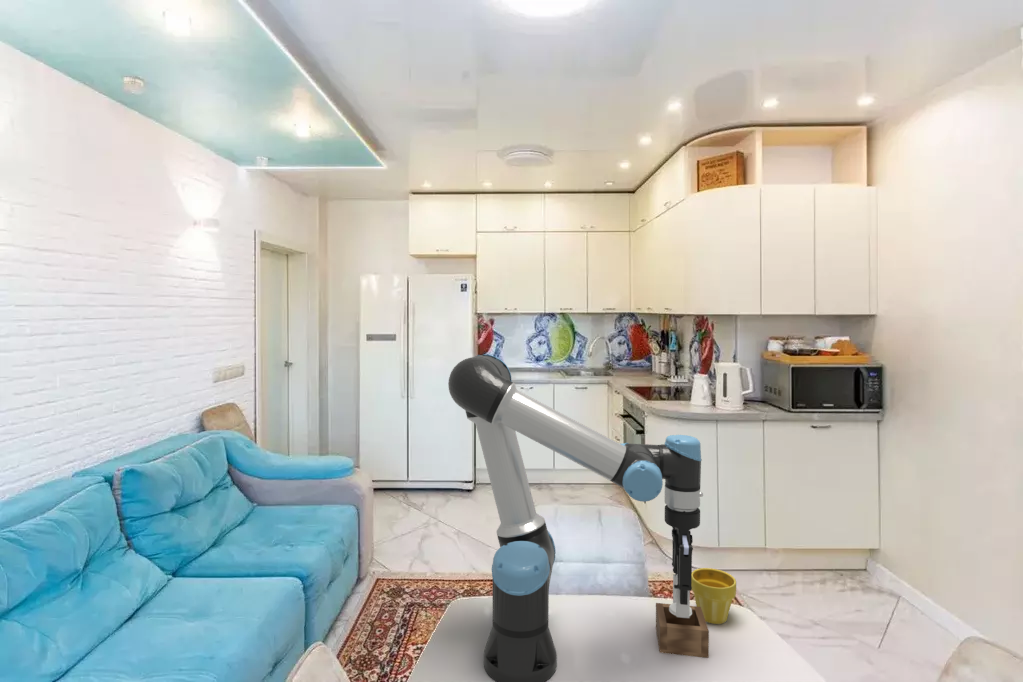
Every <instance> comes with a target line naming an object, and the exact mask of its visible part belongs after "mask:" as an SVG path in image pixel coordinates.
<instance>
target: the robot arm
mask: <svg viewBox="0 0 1023 682" xmlns="http://www.w3.org/2000/svg"><path fill="white" fill-rule="evenodd" d="M448 391H449V394H450V396H451V398H452V400H453V401H454V402H455V404H456V405H458V407H460V408H461V409H463V410H464V411H465V414H466V418H467V420H469V421H471V422H472V423H474V425H475V427H476V431H477V435H478V438H479V439H478V440H479V442H480V447H481V450H482V455H483V458H484V463H485V465H486V470H487V474H488V478H489V482H490V485H491V490H492V494H493V497H494V498H493V499H494V503H495V505H496V509H497V513H498V517H499V522H500V524H499V525H498V528H497V529H496V536H497V541H498V543H499V544H498V545H499V548H498V549H497V550H496V551H495V552H494V555H493V558H492V564H491V576H492V626H491V629H490V633H489V635H488V639H487V642H486V645H485V648H484V653H483V667H484V670H485V672H486V673H487V675H488V677H490V678H491V679H492V680H494V681H496V682H546V681H547V680H549V679H550V678H551V677H553V676H554V674H555V673H556V670H557V665H558V663H557V661H558V660H557V659H558V655H557V654H558V653H557V650H556V646H555V643H554V639H553V636H552V634H551V631H550V628H549V608H550V607H549V604H550V603H549V601H550V599H549V594H550V591H549V590H550V583H551V578H552V573H553V566H554V564H555V562H556V561H555V560H556V545H555V541H554V539H553V536H552V534H551V533H550V531H549V530H548V528H547V527H548V526H547V524H546V523H547V522H546V520H545V518H544V517H543V516H541V515H540V514H538V513H537V510H536V507H535V502H534V498H533V495H532V490H531V488H530V483H529V480H528V476H527V471H526V468H525V463H524V459H523V456H522V451H521V448H520V445H519V441H518V437H517V434H516V432H517V433H520V434H521V435H523V436H525V437H527V438H529V439H530V440H532V441H535V443H538V444H540V445H541V446H544V447H545V448H547V449H550V450H551V451H553V452H555V453H556V454H559V455H561V456H563V457H565V458H566V459H568V460H570V461H572V462H574V463H576V464H578V465H580V466H581V467H583V468H585V469H587V470H589V471H591V472H593V473H594V474H597V475H598V476H600V477H602V478H604V479H605V480H608V481H610V482H612V483H613V484H614V485H617V486H618V487H621V488H622V489H623V490H624V491H625V492H626V493H627V494H628V495H629V497H630V498H632V499H633V500H635V501H638V502H643V503H644V502H645V503H646V502H650V501H652V500H655V499H656V498H657V497H658V496H659V495H660V493H661V492H662V489H663V485H664V504H665V506H664V522H665V523H666V524H667V525H668V526H670V527H671V528H672V529H671V538H672V542H671V543H672V558H671V559H672V561H671V566H672V572H673V574H672V575H673V576H672V603H675V602H676V617H681V618H689V613H690V606H691V605H690V604H691V601H690V600H691V599H690V597H691V595H690V594H691V591H692V586H691V585H692V572H693V567H692V566H693V565H692V564H693V550H694V547H693V545H692V544H693V534H692V533H691V530H692V529H697V528H698V527H700V525H701V509H700V507H701V497H703V496H704V493H703V492H702V491H701V476H702V475H701V474H702V471H701V470H702V461H703V460H702V452H701V449H702V448H701V441H700V440H699V439H698V438H697V437H695V436H691V435H685V434H670V435H668V436H666V438H665V442H664V444H648V443H647V444H646V443H629V442H625V443H619V442H617V441H615V440H613V439H611V438H609V437H607V436H605V435H603V434H602V433H600V432H598V431H597V430H595V429H592V428H591V427H588V426H586V425H585V424H582V423H580V422H579V421H577V420H575V419H573V418H571V417H570V416H568V415H566V414H564V413H561V412H560V411H558V410H556V409H553V408H552V407H550V406H548V405H546V404H544V403H543V402H541V401H538V400H537V399H534V398H532V397H531V396H529V395H527V394H525V393H523V392H522V391H520V390H518V389H517V387H516V384H515V382H513V380H512V374H511V370H510V369H509V366H508V365H507V364H506V363H505V362H504V361H503V360H502V359H500V358H499V357H497V356H494V355H492V354H485V353H484V354H477V355H475V356H472V357H468V358H465V359H463V360H461V361H459V362H458V363H456V365H455V366H454V367H453V368H452V370H451V372H450V374H449V377H448ZM663 480H664V481H665V482H663ZM663 483H664V484H663ZM676 575H677V577H676ZM677 578H678V580H677ZM676 584H677V585H676Z"/></svg>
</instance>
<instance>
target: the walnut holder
mask: <svg viewBox="0 0 1023 682" xmlns="http://www.w3.org/2000/svg"><path fill="white" fill-rule="evenodd" d="M670 604H671V603H663V602H661V603H660V602H656V603H655V631H656V637H657V644H658V649H659V650H658V651H659V653H660V654H668V655H674V656H675V655H676V656H677V655H678V656H686V657H696V658H704V659H709V656H710V655H709V654H710V653H709V651H710V650H709V647H710V646H709V645H710V643H709V642H710V639H709V638H710V630H709V627H708V624H707V622H706V621H705V618H704V615H703V612H702V609H701V607H697V606H696V605H690V607H691V609H692V615H691V616H689V618H681V617H676V616H675V615H673V614H672V613H671V612H670V611H669V606H670Z"/></svg>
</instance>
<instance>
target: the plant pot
mask: <svg viewBox="0 0 1023 682" xmlns="http://www.w3.org/2000/svg"><path fill="white" fill-rule="evenodd" d="M691 586H692V590H691V591H692V592H693V595H694V601H695V606H697V607H701V609H702V612H703V615H704V618H705V621H706V623H709V624H713V625H722V624H725V623H726V622H727V620H728V616H729V613H730V609H731V605H732V602H733V599H735V598H736V595H737V581H736V578H735V577H734V576H733V575H732V574H730V573H729V572H726V571H724V570H722V569H717V568H710V567H700V568H696V569H693V570H692V585H691Z"/></svg>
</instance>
